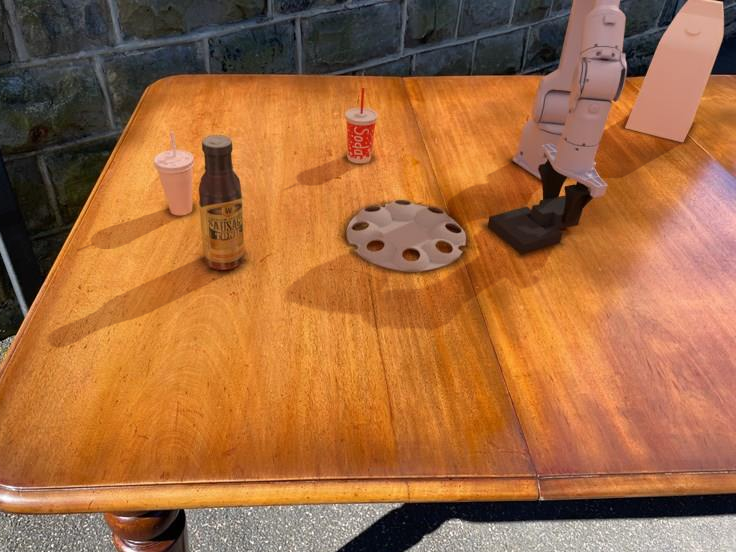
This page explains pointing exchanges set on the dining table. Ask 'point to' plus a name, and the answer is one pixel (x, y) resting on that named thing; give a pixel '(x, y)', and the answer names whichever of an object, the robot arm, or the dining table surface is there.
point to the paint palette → (406, 236)
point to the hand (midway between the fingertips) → (558, 213)
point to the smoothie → (176, 178)
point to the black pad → (523, 231)
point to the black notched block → (551, 213)
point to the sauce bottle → (221, 206)
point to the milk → (679, 71)
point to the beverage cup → (360, 132)
